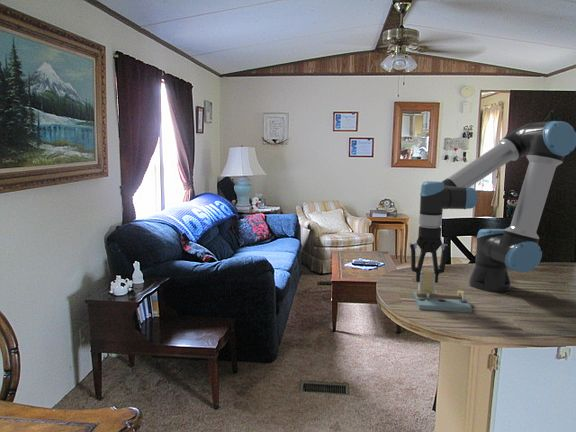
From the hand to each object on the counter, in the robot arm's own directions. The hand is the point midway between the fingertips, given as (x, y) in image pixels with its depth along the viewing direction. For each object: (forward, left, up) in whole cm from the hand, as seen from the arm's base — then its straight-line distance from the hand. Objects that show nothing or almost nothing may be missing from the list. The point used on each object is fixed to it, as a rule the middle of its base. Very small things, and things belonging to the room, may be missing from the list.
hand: (426, 290), depth 162 cm
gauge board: (-5, +2, -4) cm, 7 cm away
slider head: (0, +1, -2) cm, 2 cm away
